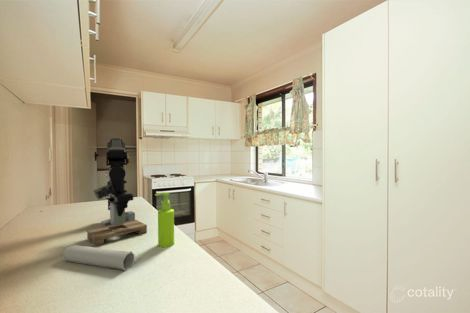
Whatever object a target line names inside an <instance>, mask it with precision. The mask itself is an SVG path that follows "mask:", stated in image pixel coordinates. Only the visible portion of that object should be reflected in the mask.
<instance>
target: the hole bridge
mask: <svg viewBox="0 0 470 313" xmlns="http://www.w3.org/2000/svg"><path fill="white" fill-rule="evenodd" d="M147 226H148V225H147V224H146V223H143V222H141V221H139V220H137V219H135V220H133V221H129V222H125V223H124V224H120V225H115V226H114V225H110V226H106V227H102V226H101V227H98V228H93V229H89V230H88V229H87V230H86V232H87V233H86V236H87V240H88V241H89V242H90V243H91V244H92V245H93V246H94V248H97V247H99V246H103V245H105V239H109V238H113V237H118V236H122V235H126V234H130V233H137V234H138V235H144V234H147V233H148V230H147V229H148V228H147Z"/></svg>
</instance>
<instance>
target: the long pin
mask: <svg viewBox="0 0 470 313" xmlns="http://www.w3.org/2000/svg"><path fill="white" fill-rule="evenodd" d="M109 207H110V210H109V219H110V224H112V225H114V226H115V225H120V224H124V223H125V212H126V208H125V209H124V211H123V213H122V216H118V212H117V206H116V204H115V203H114V202H110V206H109Z"/></svg>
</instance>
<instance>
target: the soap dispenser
mask: <svg viewBox="0 0 470 313" xmlns="http://www.w3.org/2000/svg"><path fill="white" fill-rule="evenodd" d="M154 195H155V197H158V196H163V200H161V201H160V203H161V204H160V205H161V208H160V209H159V210H157V237H158V238H157V239H158V240H157V242H158V243H157V244H158V247H159V248H170V247H173V246H174V245H175V209H173V208H171V200H169V196H170V195H171V194H170V192H168V191H167V192H166V191H165V192H158V193H155V194H154Z"/></svg>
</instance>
